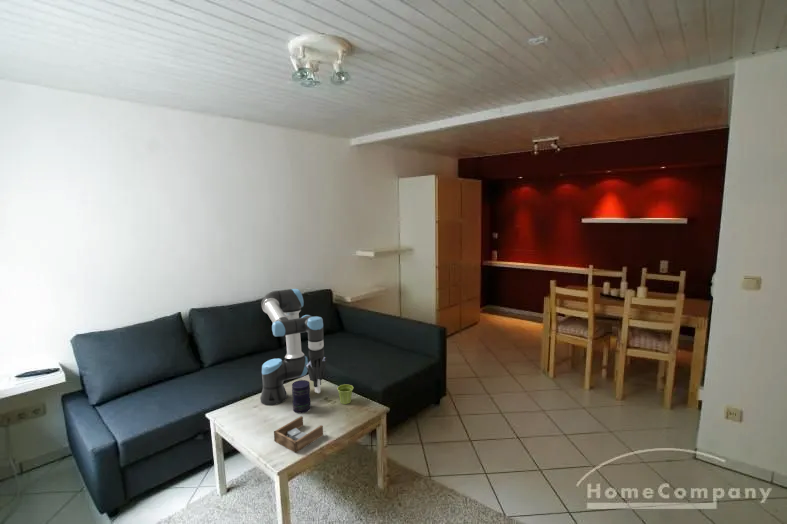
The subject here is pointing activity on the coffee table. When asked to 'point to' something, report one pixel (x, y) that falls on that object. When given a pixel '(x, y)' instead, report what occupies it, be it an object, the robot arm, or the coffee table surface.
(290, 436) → the tile
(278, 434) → the frame
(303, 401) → the storage jar
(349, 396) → the plant pot
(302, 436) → the tile
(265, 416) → the coffee table surface
